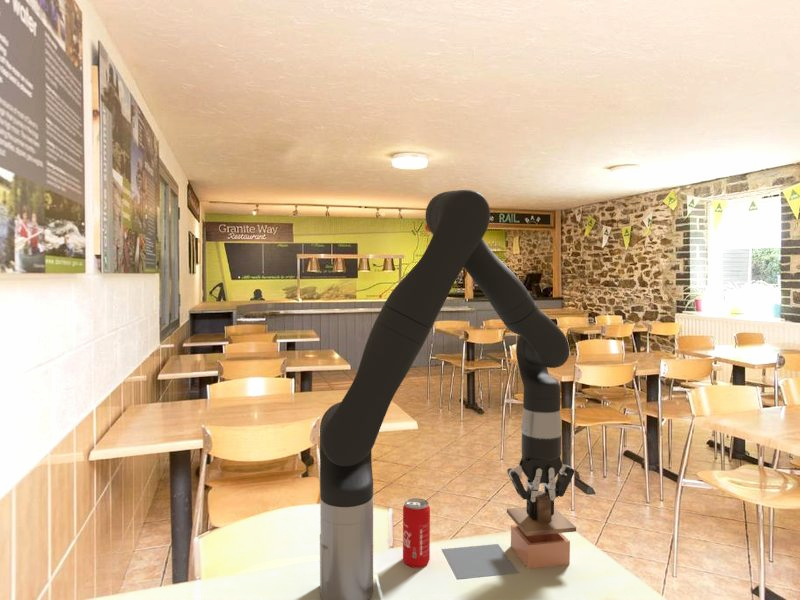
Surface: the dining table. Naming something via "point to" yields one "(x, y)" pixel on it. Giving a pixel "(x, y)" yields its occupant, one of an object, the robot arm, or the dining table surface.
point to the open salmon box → (540, 548)
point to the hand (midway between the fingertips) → (540, 517)
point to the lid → (541, 518)
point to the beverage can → (416, 532)
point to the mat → (479, 561)
